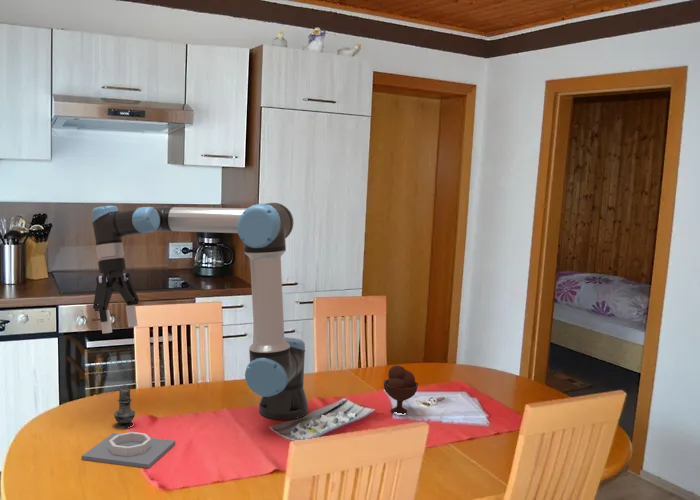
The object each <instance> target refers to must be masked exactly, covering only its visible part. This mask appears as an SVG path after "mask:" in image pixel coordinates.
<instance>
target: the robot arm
mask: <svg viewBox="0 0 700 500" xmlns="http://www.w3.org/2000/svg"><path fill="white" fill-rule="evenodd" d="M91 217H92V218H91V219H92V221H91V222H92V228H93V234H94V239H95V240H94V241H95V247H96V249H95V250H96V257H97V259H99V260H98V262H97V265H98V271H99V273H100V274H102V275H99V276H96V287H95V294H94V298H93V305H92V306H93V307H92V308H93V310H94V311H95V312H99V314H98V315H99V320H100V326H101V332H102V334H110V333H113V328H112V319H111V313H110V309H108V307H109V304H110V301H111V299H112V298H111V297H112V295H113V292H114V291H115V290H116V291H117V292H118V293H119V294H120V296H121V297H122V299H123V300H124V302H125V304H126V305H125V312H126V319H127V326H128V328H132V327H134V328H135V327H138V319H137V310H136V305H139V301H140V300H139V297H138V294H137V292H136V289H135V287H134V284H133V283H132V279H131V275H130V273H129V272H126V273H124V271H126V270H127V267H126V261H125V260H126V259H125V258H124V256H125V250H124V244H123V237H127V236H135V235H142V234H143V235H144V234H150V233H155V232H189V233H190V232H192V233H222V234H223V233H224V234H237V235H238V237H239V239H240V240H241V241H242V243H243V251H244V254H245V255H246V256H247V257H248V258H249V261H250V262H249V263H250V281H251V282H250V283H251V300H252V302H251V303H252V318H253V323H252V325H253V343H252V344H250V345H249V348H248V349H249V350H248V351H249V363H248V365H246V369H245V373H244V379H245V382H246V385H247V386H248V388H249V389H250V390H251V391H252V392H253V393H254V394H255V395H258V396H261V398H260V401H259V405H258V413H259V415H261V416H263V417H265V418H268V419H271V420H278V421H287V420H288V421H289V420H290V421H291V420H296V419H295V418H297V417H300V416H303V415H305V416H307V414H308V413H309V403H308V399H307V396H306V392H305V388H304V379H305V358H306V355H305V354H306V348H305V345H306V344H305V341H303V340H302V339H299V338H296V337H285V323H284V301H283V300H284V299H283V284H282V283H283V282H282V281H283V279H282V278H283V276H282V258H281V257H282V256H283V255H284V254H285V252H286V251H287V250H286V248H287V245H286V239H287V238H288V237H289V236H290V235H291V233H292V231H293V228H294V217H293V214H292V211H290V210H289V208H287V206H285V205H283V204H281V203H278V202H269V203H257V204H256V203H255V204H253V205H251V206H249V207H247V208H246V207H245V208H244V207H243V208H240V207H193V206H192V207H186V206H166V205H164V206H163V205H162V206H161V205H160V206H159V205H158V206H154V207H153V206H142V207H136V208H132V209H126V210H122V211H121V210H119V208H118V206H116V205H105V206H102V205H101V206H98V207H97V206H96V207H94V208H93V209H92V211H91ZM303 417H304V416H303ZM297 419H298V418H297Z"/></svg>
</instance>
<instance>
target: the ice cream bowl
mask: <svg viewBox="0 0 700 500" xmlns="http://www.w3.org/2000/svg"><path fill="white" fill-rule="evenodd" d="M387 378H388V379H384V381H383V388H384V391H385V393H386V394H387V396H389V397H390V398H391V399H394V400H395V401H396V406H395V407H393V408H391V410H390V413H391V414H392V415H394V414H393V413H394V412H397V413H402V414H404V413H407V411H408V410H407V409H405V408H404V407H403V403H404V401H407V400H409V399H411V398H412V397H414V396H415V395H416V393H417V390H418V386H419V383H418V382H417V381H416V378H415V375H414V373H412V372H411V371H410V370H408V369H405V368H404V367H403V366H401V365H397V364H396V365H393V366H391V367H390V368H389V369H388V377H387Z"/></svg>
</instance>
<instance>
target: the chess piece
mask: <svg viewBox="0 0 700 500" xmlns="http://www.w3.org/2000/svg"><path fill="white" fill-rule="evenodd" d="M117 402H118V403H119V404H118V410H117V411H115V412H114V413H113V416H114V418H115V421H116V422H117V423H115V425H114V428H116V429H118V430H128V429H129V428H128V427H130V426H132V425H133V423H134V422H133V423H132V421H133V420H134V418H135V415H136V411H135V410H133V409H131V402H132V398H131V389H130V388H128V387H127V386H126V384H124V385H123V386H122V387H121V388H119V399H118V400H117ZM127 428H128V429H127Z"/></svg>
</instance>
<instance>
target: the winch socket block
mask: <svg viewBox="0 0 700 500" xmlns="http://www.w3.org/2000/svg"><path fill="white" fill-rule="evenodd" d="M175 445H176V440H173V439H164V438H157V437H156V438H155V437H150V436H149V435H148V434H147V433H144V432H136V431H130V432H126V433H125V432H124V433H118V432H117V433H115V432H114V433H111V434H110V435H109V436H106V438H104V439H102V440H101V441H99V443H97V444H96V445H94V446H93V447H92V448H90V449H89V450H87V451H85V453H84V454H81V460H82V461H90V462H97V463H104V464H112V465H113V464H114V465H120V466H128V467H135V468H143V469H150V468H151V467H152V466H153V465H154V464H155V463H156V462H157V461H159V460H160V459H161V458H162V457H163V456H164V455H165V454H166V453H167V452H168V451H169V450H171V449H172V448H173V447H174V446H175Z"/></svg>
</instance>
